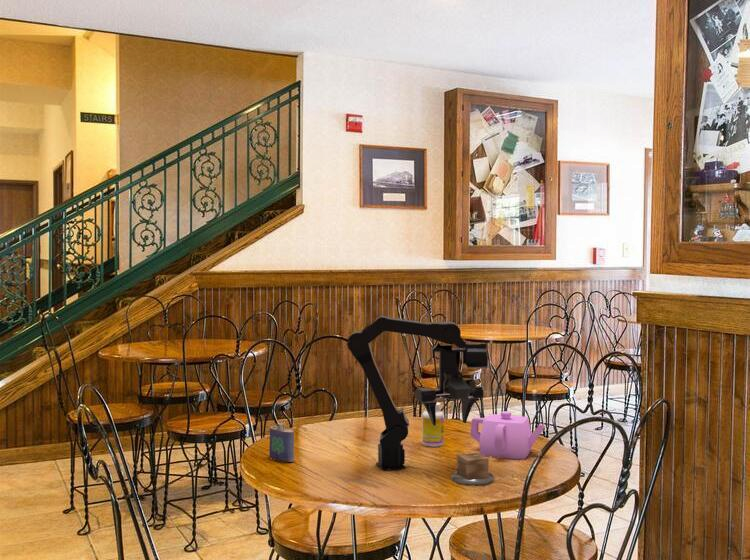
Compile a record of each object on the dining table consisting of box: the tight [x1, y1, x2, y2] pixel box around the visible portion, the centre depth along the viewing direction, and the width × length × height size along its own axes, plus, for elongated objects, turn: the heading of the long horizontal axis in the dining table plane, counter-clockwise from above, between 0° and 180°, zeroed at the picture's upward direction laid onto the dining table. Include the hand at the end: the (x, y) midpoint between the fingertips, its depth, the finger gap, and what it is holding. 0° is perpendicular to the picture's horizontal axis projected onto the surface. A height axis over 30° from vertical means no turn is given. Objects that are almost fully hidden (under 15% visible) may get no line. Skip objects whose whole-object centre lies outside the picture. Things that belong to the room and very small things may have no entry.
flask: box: [268, 422, 295, 463], centre depth 208 cm, size 9×3×11 cm, turn 50°
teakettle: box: [469, 410, 546, 460], centre depth 216 cm, size 17×17×12 cm
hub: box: [450, 470, 495, 487], centre depth 190 cm, size 11×11×4 cm
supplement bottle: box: [421, 401, 445, 448], centre depth 226 cm, size 7×7×13 cm
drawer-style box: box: [456, 452, 489, 480], centre depth 190 cm, size 6×6×5 cm
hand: (449, 424), depth 201 cm, fingers open, 9 cm apart
